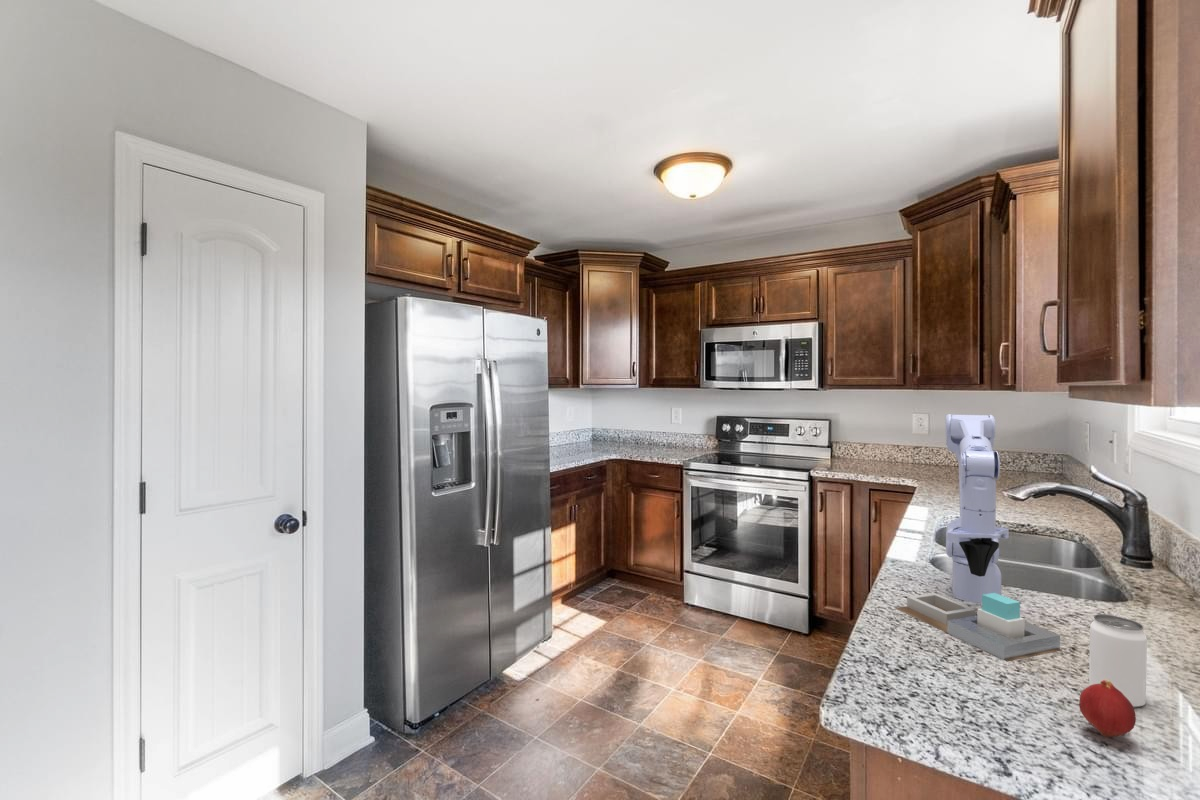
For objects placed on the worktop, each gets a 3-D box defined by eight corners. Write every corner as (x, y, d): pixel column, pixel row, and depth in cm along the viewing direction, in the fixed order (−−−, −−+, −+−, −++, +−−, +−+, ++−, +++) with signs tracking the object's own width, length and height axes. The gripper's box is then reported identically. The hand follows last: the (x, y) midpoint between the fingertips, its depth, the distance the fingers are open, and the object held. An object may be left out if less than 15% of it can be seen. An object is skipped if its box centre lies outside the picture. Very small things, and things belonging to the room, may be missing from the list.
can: (1157, 711, 81) (1159, 632, 81) (1107, 706, 82) (1109, 628, 82) (1125, 687, 87) (1126, 614, 87) (1079, 683, 89) (1080, 611, 88)
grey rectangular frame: (934, 602, 120) (934, 592, 120) (975, 620, 111) (975, 609, 111) (907, 606, 118) (907, 596, 118) (946, 625, 109) (946, 614, 109)
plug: (992, 631, 106) (992, 591, 106) (1024, 645, 100) (1024, 603, 100) (977, 634, 104) (977, 593, 104) (1008, 648, 99) (1009, 605, 99)
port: (999, 623, 109) (1000, 611, 109) (1059, 648, 99) (1060, 635, 99) (947, 632, 105) (947, 620, 105) (1004, 660, 95) (1004, 645, 95)
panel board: (944, 604, 121) (944, 600, 121) (1062, 654, 98) (1062, 649, 98) (895, 611, 117) (895, 608, 117) (1006, 665, 94) (1007, 661, 94)
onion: (1080, 717, 79) (1081, 664, 79) (1135, 735, 75) (1136, 679, 75) (1077, 735, 75) (1077, 679, 75) (1135, 755, 71) (1136, 696, 71)
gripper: (970, 515, 104) (969, 584, 104) (1024, 511, 108) (1023, 577, 109) (938, 508, 111) (937, 573, 111) (989, 504, 115) (989, 567, 115)
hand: (977, 574), depth 110 cm, fingers closed
